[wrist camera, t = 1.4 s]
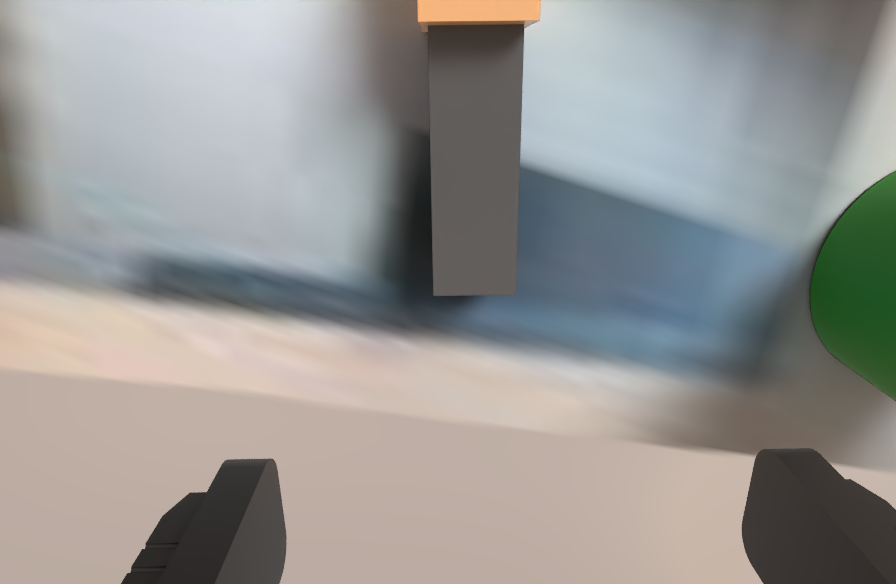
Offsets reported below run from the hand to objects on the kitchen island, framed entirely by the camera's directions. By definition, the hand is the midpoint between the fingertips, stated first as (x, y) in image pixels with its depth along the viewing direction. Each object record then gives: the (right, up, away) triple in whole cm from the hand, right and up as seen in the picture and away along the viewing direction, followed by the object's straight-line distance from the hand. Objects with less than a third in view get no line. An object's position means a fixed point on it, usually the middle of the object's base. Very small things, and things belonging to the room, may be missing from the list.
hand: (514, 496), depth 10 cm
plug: (0, +11, +12) cm, 17 cm away
